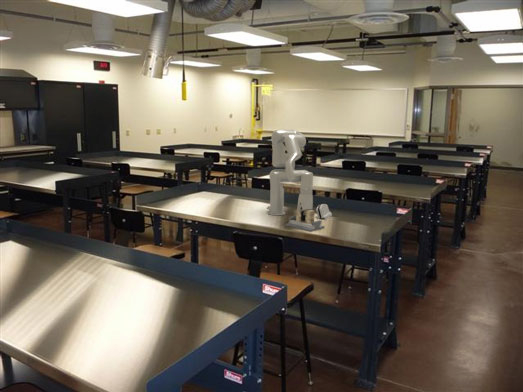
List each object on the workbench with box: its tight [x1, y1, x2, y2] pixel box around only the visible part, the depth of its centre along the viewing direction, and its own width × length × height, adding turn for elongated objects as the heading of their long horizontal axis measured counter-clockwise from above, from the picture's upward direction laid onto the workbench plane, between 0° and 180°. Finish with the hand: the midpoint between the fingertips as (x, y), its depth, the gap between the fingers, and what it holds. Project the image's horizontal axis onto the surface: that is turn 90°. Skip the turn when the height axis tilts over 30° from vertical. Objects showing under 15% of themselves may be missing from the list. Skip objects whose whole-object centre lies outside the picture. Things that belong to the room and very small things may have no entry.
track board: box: [285, 214, 325, 233], centre depth 284 cm, size 20×14×5 cm
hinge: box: [315, 203, 333, 221], centre depth 313 cm, size 17×5×10 cm, turn 155°
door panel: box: [295, 207, 316, 224], centre depth 284 cm, size 12×3×9 cm, turn 46°
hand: (304, 220), depth 284 cm, fingers closed on door panel, 3 cm apart
